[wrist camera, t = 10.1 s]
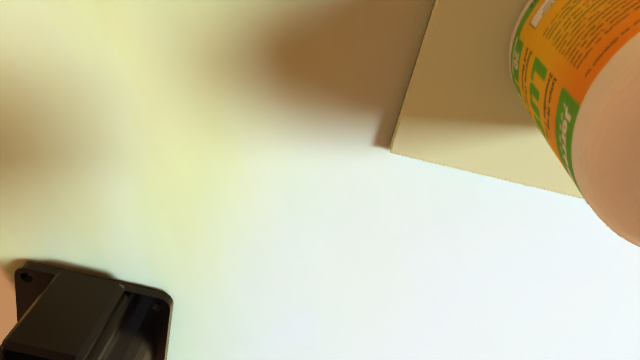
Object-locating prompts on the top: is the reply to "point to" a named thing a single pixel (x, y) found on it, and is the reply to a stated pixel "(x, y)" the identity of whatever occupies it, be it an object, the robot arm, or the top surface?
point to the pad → (474, 100)
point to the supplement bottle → (586, 97)
